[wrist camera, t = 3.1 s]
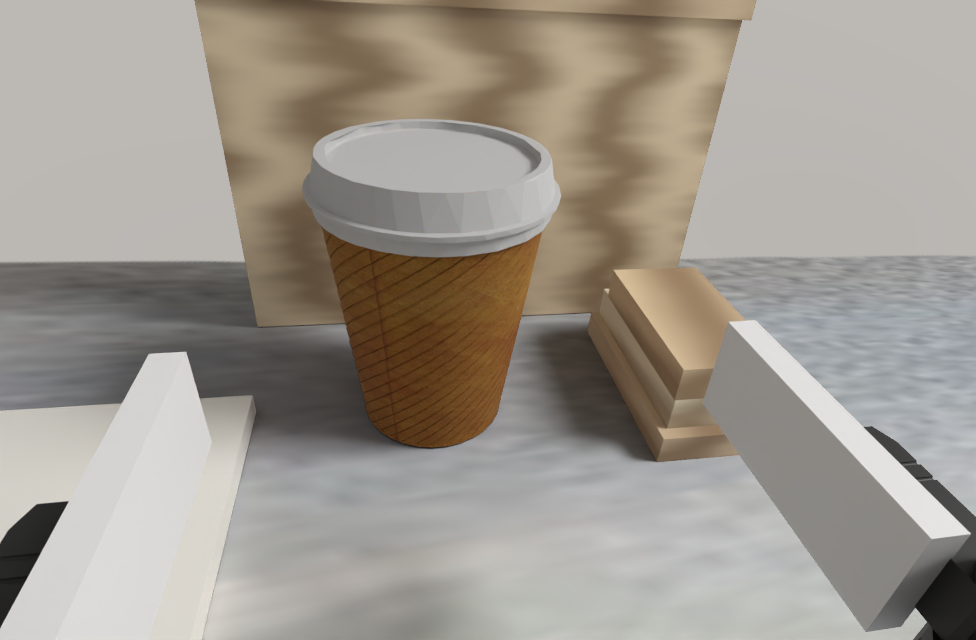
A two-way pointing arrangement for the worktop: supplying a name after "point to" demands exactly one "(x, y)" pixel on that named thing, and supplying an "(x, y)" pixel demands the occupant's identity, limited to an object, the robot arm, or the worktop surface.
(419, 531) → the worktop surface
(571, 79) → the pine panel
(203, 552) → the white square coaster
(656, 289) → the offcut stack
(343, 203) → the disposable coffee cup
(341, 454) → the worktop surface
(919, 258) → the worktop surface
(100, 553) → the robot arm
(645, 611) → the worktop surface
